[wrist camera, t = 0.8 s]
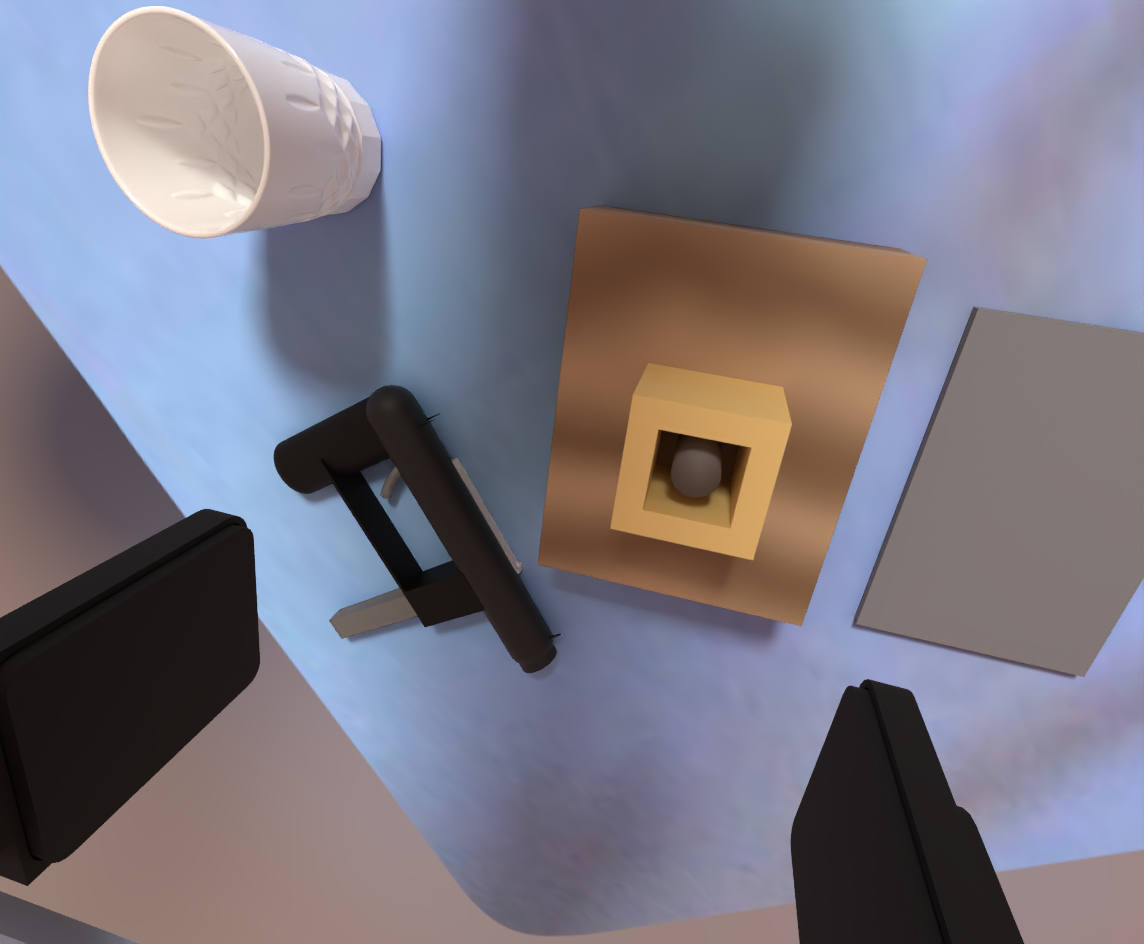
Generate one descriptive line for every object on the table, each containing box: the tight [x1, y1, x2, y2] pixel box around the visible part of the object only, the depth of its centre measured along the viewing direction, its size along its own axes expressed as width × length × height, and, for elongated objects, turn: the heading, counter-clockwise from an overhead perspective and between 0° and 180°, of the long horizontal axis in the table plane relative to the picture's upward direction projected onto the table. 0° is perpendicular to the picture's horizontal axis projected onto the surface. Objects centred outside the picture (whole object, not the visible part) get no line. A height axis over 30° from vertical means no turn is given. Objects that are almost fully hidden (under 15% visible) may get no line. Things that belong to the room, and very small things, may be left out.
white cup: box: [88, 6, 381, 238], centre depth 29 cm, size 8×8×10 cm
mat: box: [855, 307, 1144, 677], centre depth 33 cm, size 18×12×1 cm, turn 173°
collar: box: [610, 363, 792, 560], centre depth 28 cm, size 6×6×5 cm
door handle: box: [274, 385, 561, 673], centre depth 42 cm, size 3×20×16 cm
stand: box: [538, 206, 927, 626], centre depth 30 cm, size 18×14×10 cm
